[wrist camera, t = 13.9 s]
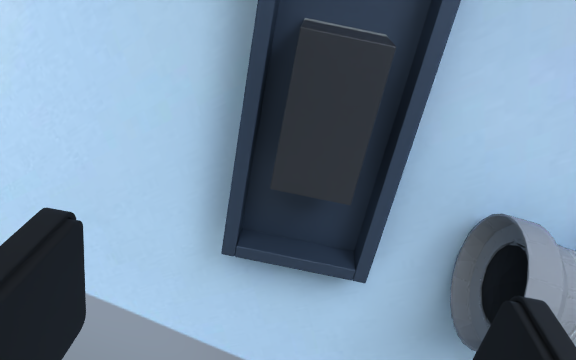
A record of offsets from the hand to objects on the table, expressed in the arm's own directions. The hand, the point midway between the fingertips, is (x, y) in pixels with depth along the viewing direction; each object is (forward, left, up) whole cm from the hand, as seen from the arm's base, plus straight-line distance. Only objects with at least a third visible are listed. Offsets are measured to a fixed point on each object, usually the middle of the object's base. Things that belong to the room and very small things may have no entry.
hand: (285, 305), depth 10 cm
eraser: (+1, 0, -16) cm, 16 cm away
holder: (+1, 0, -16) cm, 16 cm away
